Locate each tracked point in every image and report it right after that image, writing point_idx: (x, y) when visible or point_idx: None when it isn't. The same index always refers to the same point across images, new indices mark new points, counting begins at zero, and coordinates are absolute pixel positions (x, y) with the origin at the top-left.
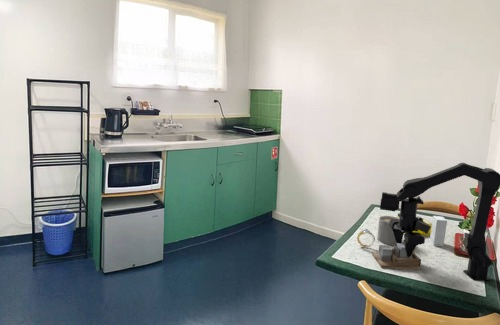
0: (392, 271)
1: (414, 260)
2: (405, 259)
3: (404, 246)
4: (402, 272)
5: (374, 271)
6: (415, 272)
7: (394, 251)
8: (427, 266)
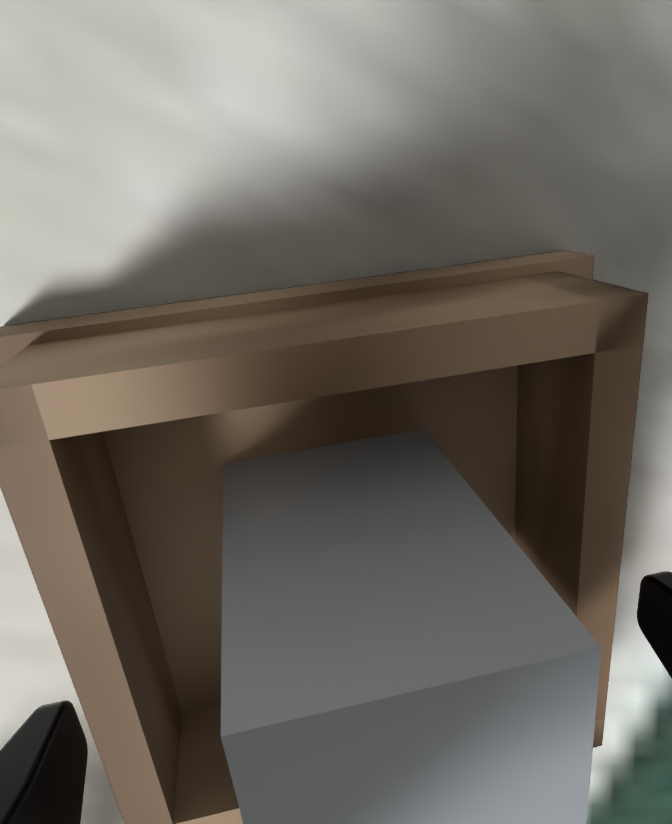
0: (622, 659)
1: (618, 434)
2: (611, 603)
3: (512, 816)
4: (650, 555)
5: (620, 810)
6: (656, 383)
7: (149, 693)
8: (427, 59)
